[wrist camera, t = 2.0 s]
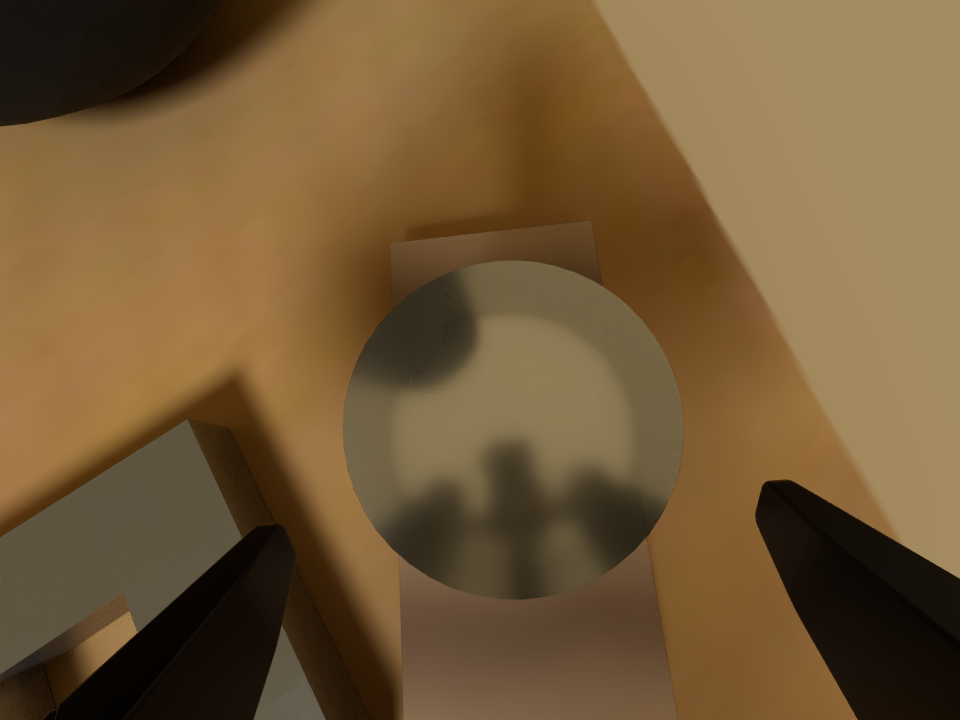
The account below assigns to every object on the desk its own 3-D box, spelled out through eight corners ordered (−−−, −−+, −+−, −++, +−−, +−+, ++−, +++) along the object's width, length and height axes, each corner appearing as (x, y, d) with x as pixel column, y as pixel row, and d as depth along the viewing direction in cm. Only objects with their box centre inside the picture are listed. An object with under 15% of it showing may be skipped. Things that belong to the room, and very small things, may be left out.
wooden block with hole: (660, 734, 15) (688, 780, 13) (422, 748, 15) (405, 795, 13) (581, 252, 20) (591, 220, 18) (404, 272, 21) (389, 243, 18)
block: (395, 771, 15) (373, 823, 13) (10, 1060, 14) (-94, 1176, 12) (228, 428, 19) (187, 419, 17) (-87, 629, 18) (-181, 651, 15)
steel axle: (585, 482, 17) (761, 459, 5) (499, 543, 17) (458, 682, 5) (525, 397, 19) (546, 207, 6) (443, 453, 18) (287, 371, 6)
